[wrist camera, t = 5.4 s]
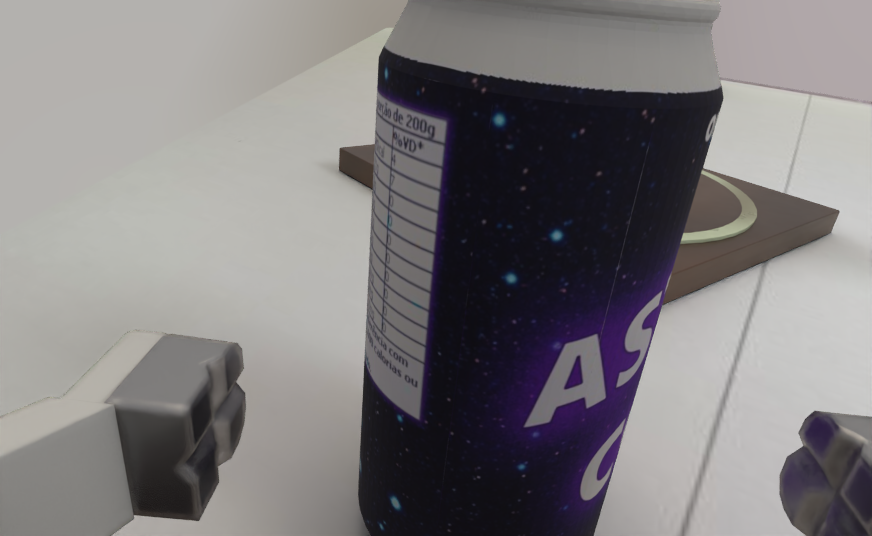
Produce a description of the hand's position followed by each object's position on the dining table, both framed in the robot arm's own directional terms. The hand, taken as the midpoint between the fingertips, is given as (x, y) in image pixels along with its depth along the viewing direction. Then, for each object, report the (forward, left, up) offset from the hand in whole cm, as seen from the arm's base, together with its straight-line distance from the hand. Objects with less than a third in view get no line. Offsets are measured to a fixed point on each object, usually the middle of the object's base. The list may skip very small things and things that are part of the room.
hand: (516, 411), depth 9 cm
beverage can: (-3, +3, -7) cm, 8 cm away
